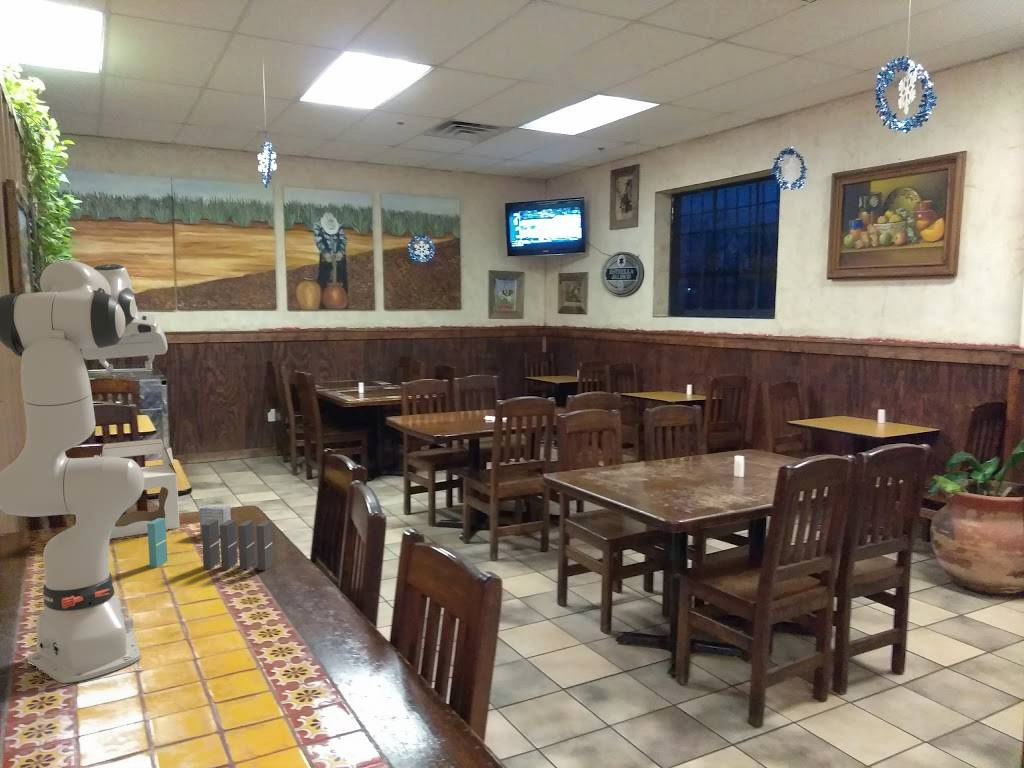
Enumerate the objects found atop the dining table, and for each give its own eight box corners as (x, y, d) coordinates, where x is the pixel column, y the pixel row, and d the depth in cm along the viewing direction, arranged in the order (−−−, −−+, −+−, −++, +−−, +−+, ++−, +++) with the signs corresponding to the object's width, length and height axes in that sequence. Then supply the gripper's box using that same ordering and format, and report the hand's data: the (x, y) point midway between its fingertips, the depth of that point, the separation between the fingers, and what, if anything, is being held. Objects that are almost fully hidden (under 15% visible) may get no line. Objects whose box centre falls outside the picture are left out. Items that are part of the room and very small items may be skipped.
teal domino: (167, 561, 196) (165, 518, 195) (156, 567, 191) (154, 523, 190) (160, 560, 196) (158, 518, 195) (149, 567, 191) (147, 523, 190)
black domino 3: (255, 563, 194) (253, 520, 192) (247, 570, 189) (245, 525, 187) (248, 563, 194) (246, 520, 193) (239, 569, 189) (237, 525, 188)
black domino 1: (220, 562, 194) (218, 519, 193) (210, 569, 189) (208, 524, 188) (213, 562, 195) (211, 519, 193) (203, 568, 190) (201, 524, 188)
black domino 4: (273, 564, 193) (271, 520, 192) (265, 570, 188) (263, 526, 187) (266, 563, 193) (264, 520, 192) (258, 570, 188) (256, 526, 187)
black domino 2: (237, 563, 194) (235, 519, 193) (229, 569, 189) (226, 525, 188) (230, 562, 194) (228, 519, 193) (221, 569, 189) (219, 525, 188)
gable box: (99, 541, 213) (93, 448, 210) (95, 530, 224) (89, 441, 221) (180, 528, 226) (175, 440, 223) (173, 518, 237) (168, 434, 234)
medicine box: (232, 532, 221) (230, 504, 220) (224, 536, 217) (223, 508, 216) (207, 531, 222) (206, 504, 221) (200, 536, 217) (198, 508, 217)
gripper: (72, 331, 181) (84, 379, 188) (161, 325, 188) (169, 372, 194) (76, 321, 186) (88, 367, 193) (163, 315, 193) (171, 361, 200)
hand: (129, 369), depth 194 cm, fingers open, 8 cm apart
